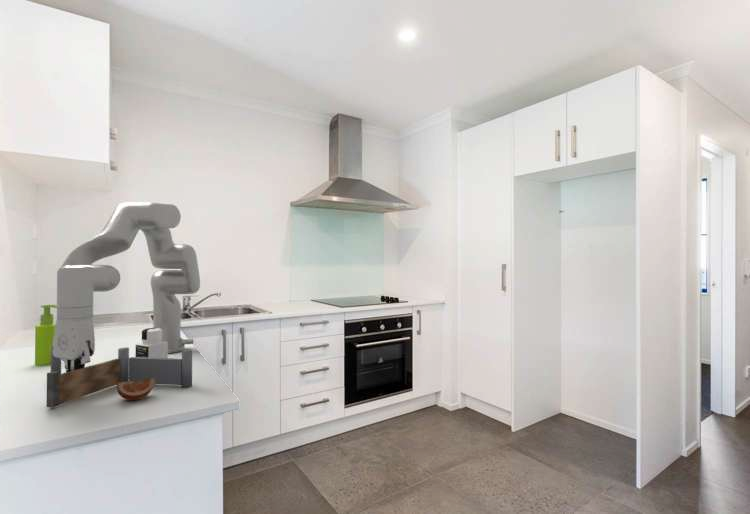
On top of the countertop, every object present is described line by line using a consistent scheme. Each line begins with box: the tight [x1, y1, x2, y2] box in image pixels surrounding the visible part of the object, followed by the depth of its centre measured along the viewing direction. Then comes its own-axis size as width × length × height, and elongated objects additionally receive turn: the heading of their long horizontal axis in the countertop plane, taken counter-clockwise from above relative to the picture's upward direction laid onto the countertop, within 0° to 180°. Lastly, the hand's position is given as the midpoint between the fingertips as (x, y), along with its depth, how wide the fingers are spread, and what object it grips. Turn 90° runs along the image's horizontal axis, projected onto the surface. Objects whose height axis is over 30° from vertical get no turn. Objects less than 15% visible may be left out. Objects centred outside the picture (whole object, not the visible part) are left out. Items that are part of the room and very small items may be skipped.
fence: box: [50, 346, 193, 389], centre depth 111 cm, size 44×3×10 cm, turn 83°
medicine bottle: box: [135, 327, 169, 358], centre depth 133 cm, size 7×7×12 cm
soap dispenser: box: [34, 304, 57, 367], centre depth 133 cm, size 6×7×20 cm
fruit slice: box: [116, 378, 156, 401], centre depth 98 cm, size 8×7×5 cm
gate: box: [45, 358, 120, 409], centre depth 100 cm, size 18×2×8 cm, turn 167°
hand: (74, 384), depth 100 cm, fingers closed
